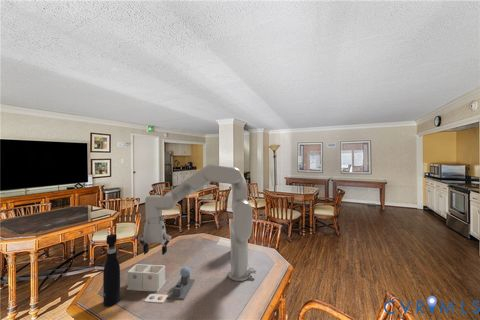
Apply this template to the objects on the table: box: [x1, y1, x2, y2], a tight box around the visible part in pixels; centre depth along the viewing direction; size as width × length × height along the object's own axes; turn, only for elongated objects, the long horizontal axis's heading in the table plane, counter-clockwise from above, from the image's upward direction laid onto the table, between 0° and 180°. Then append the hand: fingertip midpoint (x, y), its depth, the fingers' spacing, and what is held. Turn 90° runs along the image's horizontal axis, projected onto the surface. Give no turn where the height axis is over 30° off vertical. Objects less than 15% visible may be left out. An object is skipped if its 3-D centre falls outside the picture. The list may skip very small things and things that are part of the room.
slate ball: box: [179, 266, 191, 277], centre depth 106 cm, size 5×5×5 cm
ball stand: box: [166, 273, 196, 300], centre depth 101 cm, size 8×15×4 cm, turn 174°
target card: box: [143, 293, 169, 304], centre depth 94 cm, size 9×5×1 cm, turn 84°
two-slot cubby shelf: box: [126, 263, 167, 293], centre depth 104 cm, size 16×8×9 cm, turn 84°
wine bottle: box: [102, 233, 121, 308], centre depth 92 cm, size 6×6×30 cm
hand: (155, 253), depth 104 cm, fingers open, 9 cm apart
